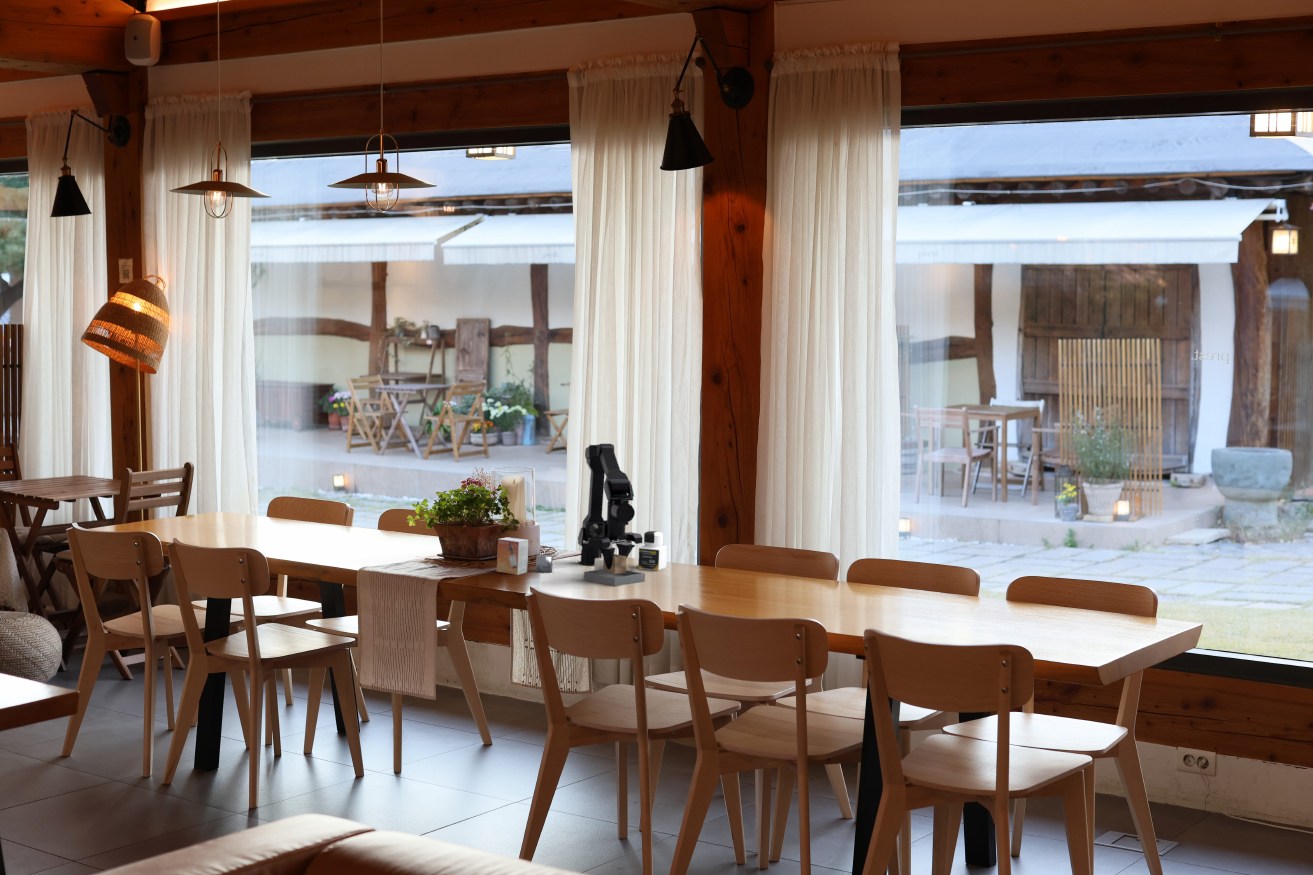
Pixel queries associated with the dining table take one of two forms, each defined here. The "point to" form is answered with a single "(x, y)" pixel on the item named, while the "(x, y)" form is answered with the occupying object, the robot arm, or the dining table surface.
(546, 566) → the slate cylinder
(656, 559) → the medicine bottle
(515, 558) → the small box
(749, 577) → the dining table surface
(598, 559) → the ivory round canister
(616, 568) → the walnut block
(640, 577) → the gray tray
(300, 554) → the dining table surface
